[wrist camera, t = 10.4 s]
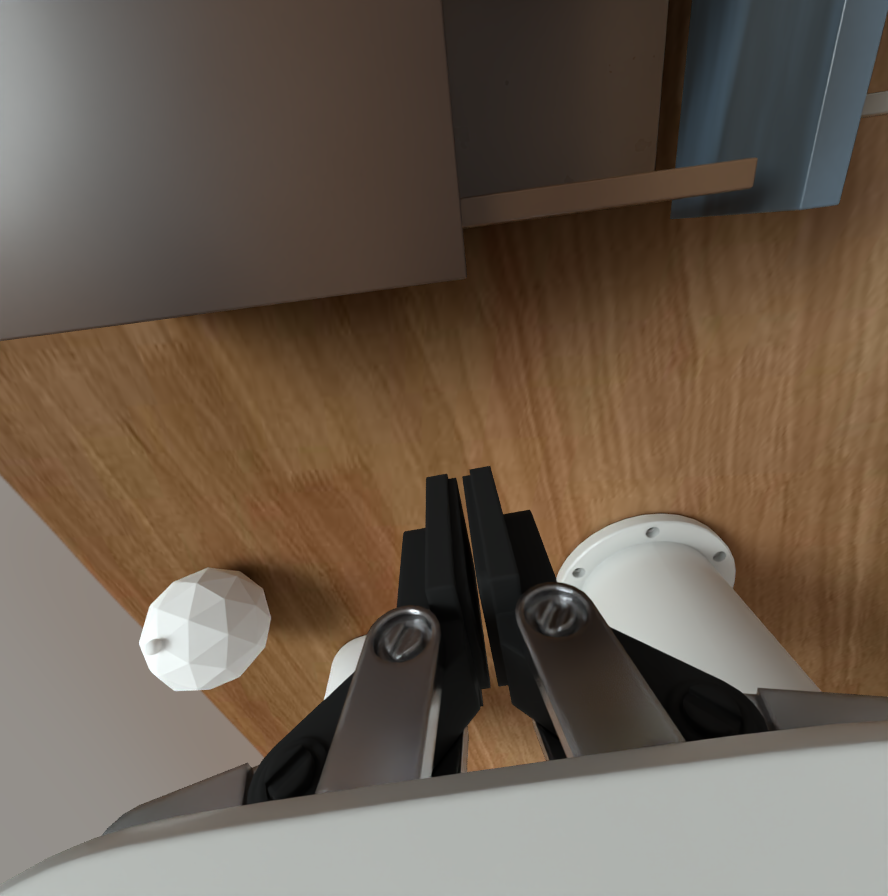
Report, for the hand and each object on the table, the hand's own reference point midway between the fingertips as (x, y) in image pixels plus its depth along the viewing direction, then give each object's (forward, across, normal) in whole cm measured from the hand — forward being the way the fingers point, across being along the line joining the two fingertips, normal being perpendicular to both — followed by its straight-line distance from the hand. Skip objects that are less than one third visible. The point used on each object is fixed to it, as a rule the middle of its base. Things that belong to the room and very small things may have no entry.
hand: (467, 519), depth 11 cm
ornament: (+14, +18, +12) cm, 26 cm away
